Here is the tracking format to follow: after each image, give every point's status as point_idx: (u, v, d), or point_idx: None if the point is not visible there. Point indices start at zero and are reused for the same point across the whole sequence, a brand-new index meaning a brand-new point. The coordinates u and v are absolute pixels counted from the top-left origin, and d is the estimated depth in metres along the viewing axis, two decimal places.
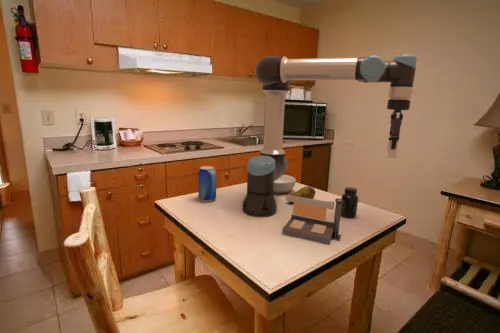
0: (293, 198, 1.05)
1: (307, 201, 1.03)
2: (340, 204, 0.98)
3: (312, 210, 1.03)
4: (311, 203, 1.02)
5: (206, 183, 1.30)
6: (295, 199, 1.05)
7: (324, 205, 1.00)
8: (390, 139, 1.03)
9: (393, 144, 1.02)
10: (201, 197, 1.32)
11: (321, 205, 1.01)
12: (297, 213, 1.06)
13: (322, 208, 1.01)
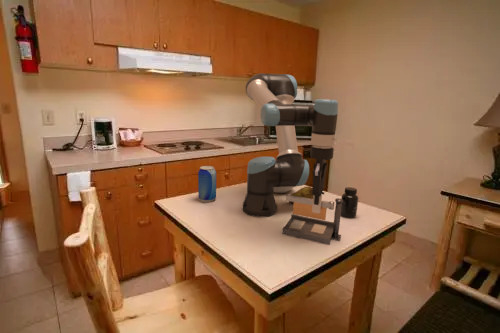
0: (293, 198, 1.05)
1: (307, 201, 1.03)
2: (340, 204, 0.98)
3: None
4: (311, 203, 1.02)
5: (206, 183, 1.30)
6: (295, 199, 1.05)
7: (324, 205, 1.00)
8: (313, 195, 0.98)
9: (315, 199, 0.98)
10: (201, 197, 1.32)
11: (321, 205, 1.01)
12: (297, 213, 1.06)
13: (322, 208, 1.02)
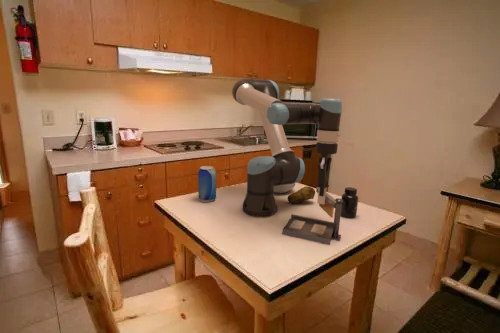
0: None
1: None
2: (340, 204, 0.98)
3: (326, 205, 1.08)
4: None
5: (206, 183, 1.30)
6: None
7: (330, 202, 1.04)
8: None
9: (321, 191, 1.06)
10: (201, 197, 1.32)
11: (329, 202, 1.05)
12: (320, 205, 1.14)
13: (330, 205, 1.05)
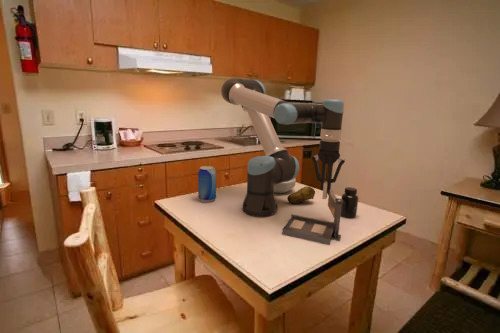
0: None
1: (330, 195, 1.10)
2: (340, 204, 0.98)
3: (331, 205, 1.09)
4: (330, 198, 1.08)
5: (206, 183, 1.30)
6: (328, 191, 1.14)
7: (333, 202, 1.04)
8: None
9: (321, 184, 1.15)
10: (201, 197, 1.32)
11: (332, 202, 1.05)
12: (328, 205, 1.14)
13: (334, 205, 1.05)
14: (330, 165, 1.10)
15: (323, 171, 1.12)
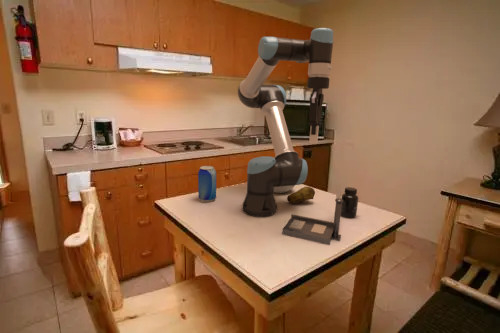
0: None
1: (336, 195, 1.09)
2: (340, 204, 0.98)
3: None
4: (336, 198, 1.08)
5: (206, 183, 1.30)
6: (336, 192, 1.14)
7: None
8: (310, 125, 1.03)
9: (312, 129, 1.02)
10: (201, 197, 1.32)
11: None
12: None
13: None
14: (321, 104, 1.03)
15: (318, 112, 1.01)
